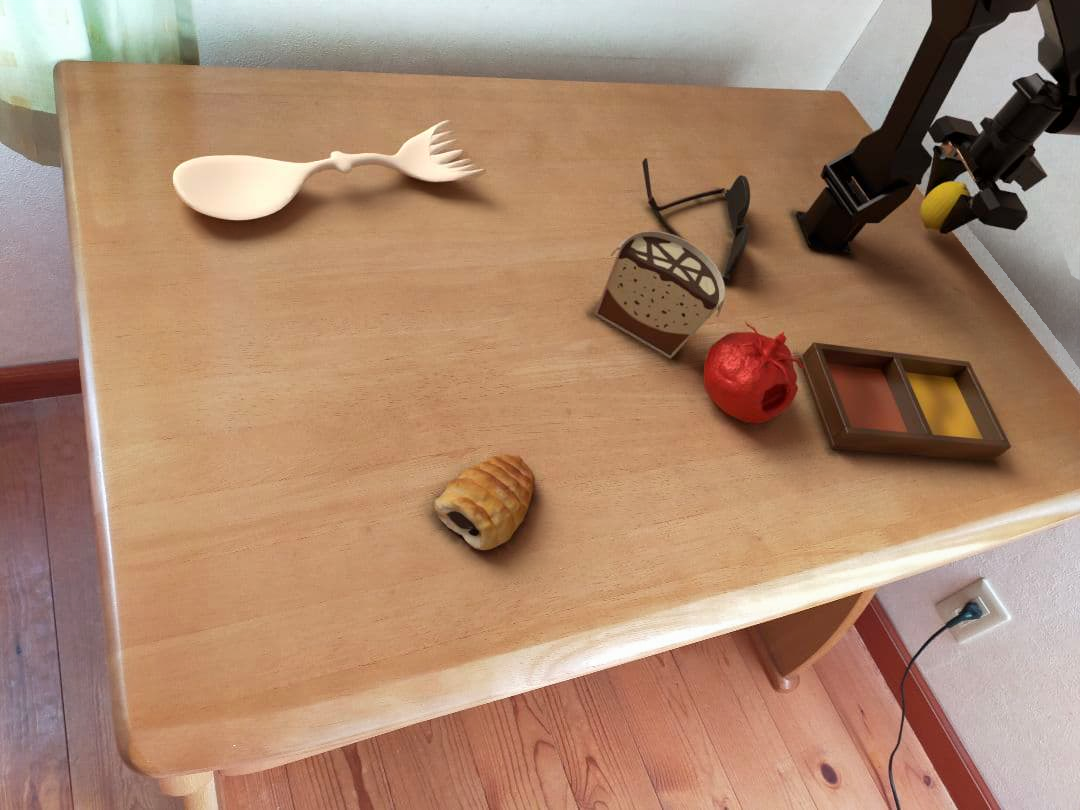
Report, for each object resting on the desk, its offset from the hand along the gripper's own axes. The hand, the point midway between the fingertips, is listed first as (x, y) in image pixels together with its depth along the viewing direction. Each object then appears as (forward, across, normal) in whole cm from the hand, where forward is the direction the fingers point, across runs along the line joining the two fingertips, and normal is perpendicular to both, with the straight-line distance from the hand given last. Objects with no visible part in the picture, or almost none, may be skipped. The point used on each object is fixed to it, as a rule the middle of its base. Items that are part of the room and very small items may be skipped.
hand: (934, 218), depth 121 cm
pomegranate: (+3, -32, +39) cm, 50 cm away
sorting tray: (+3, -32, +18) cm, 37 cm away
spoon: (+3, -9, +81) cm, 82 cm away
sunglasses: (+3, -6, +39) cm, 40 cm away
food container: (+3, -23, +48) cm, 53 cm away
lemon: (+2, 0, 0) cm, 2 cm away
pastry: (+3, -47, +68) cm, 83 cm away
